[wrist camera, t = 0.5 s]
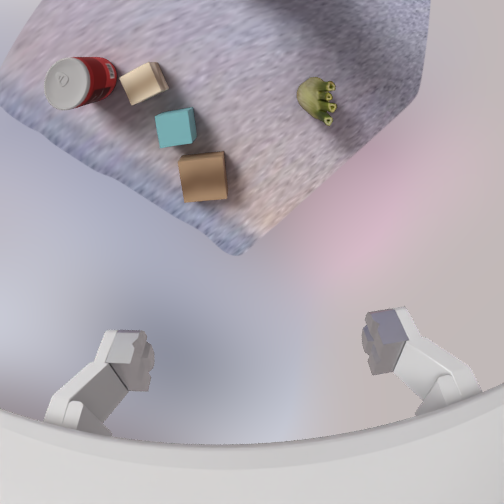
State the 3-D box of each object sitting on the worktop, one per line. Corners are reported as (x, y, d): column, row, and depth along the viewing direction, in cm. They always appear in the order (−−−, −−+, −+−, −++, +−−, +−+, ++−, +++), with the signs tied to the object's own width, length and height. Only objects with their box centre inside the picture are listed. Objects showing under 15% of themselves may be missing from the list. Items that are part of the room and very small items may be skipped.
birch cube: (130, 76, 40) (119, 77, 36) (157, 62, 40) (148, 62, 35) (142, 101, 43) (131, 105, 39) (169, 88, 42) (161, 90, 38)
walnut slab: (182, 155, 49) (177, 162, 45) (224, 150, 49) (222, 157, 45) (188, 193, 52) (184, 202, 49) (228, 189, 52) (226, 198, 49)
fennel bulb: (313, 116, 45) (334, 130, 35) (287, 102, 44) (300, 111, 34) (331, 88, 43) (356, 94, 33) (305, 72, 41) (324, 72, 31)
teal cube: (162, 112, 44) (154, 116, 40) (193, 107, 44) (187, 110, 40) (167, 140, 47) (160, 148, 43) (197, 136, 47) (192, 143, 43)
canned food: (90, 51, 37) (56, 50, 28) (126, 67, 39) (97, 69, 30) (71, 90, 40) (36, 98, 31) (106, 107, 43) (74, 119, 34)
